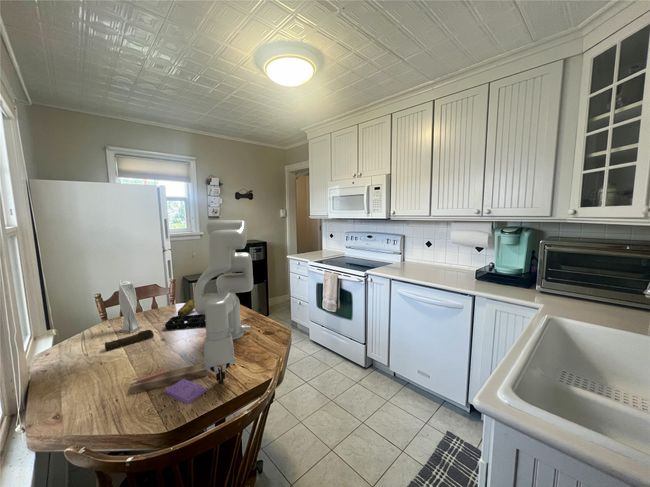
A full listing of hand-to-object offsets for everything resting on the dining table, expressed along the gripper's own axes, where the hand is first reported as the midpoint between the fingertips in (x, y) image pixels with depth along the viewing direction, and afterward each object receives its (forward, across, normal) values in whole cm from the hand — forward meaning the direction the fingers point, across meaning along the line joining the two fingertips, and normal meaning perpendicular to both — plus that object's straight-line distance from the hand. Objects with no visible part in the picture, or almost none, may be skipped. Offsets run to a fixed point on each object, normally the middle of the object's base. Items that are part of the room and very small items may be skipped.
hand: (221, 381), depth 98 cm
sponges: (+1, +12, 0) cm, 12 cm away
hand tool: (+1, +38, -52) cm, 64 cm away
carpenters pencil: (-2, +23, -10) cm, 25 cm away
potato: (+1, +15, -82) cm, 83 cm away
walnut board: (+1, +17, -10) cm, 19 cm away
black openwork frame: (+1, +10, -63) cm, 64 cm away
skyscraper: (+1, +42, -70) cm, 82 cm away
